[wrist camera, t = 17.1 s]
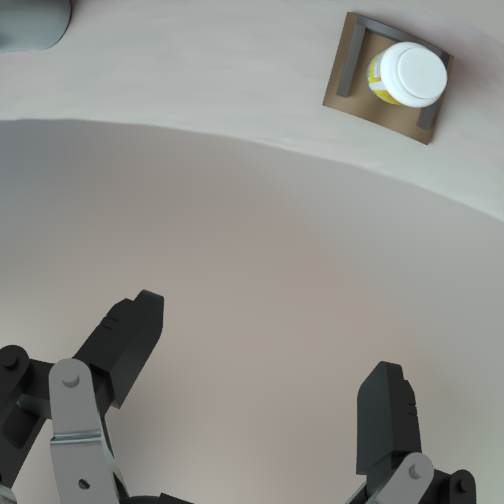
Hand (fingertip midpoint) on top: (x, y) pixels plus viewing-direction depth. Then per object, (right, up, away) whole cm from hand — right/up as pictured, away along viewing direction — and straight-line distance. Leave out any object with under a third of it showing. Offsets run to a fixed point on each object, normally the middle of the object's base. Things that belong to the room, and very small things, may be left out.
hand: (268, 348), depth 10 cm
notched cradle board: (+14, +21, +15) cm, 30 cm away
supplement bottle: (+13, +21, +15) cm, 29 cm away
